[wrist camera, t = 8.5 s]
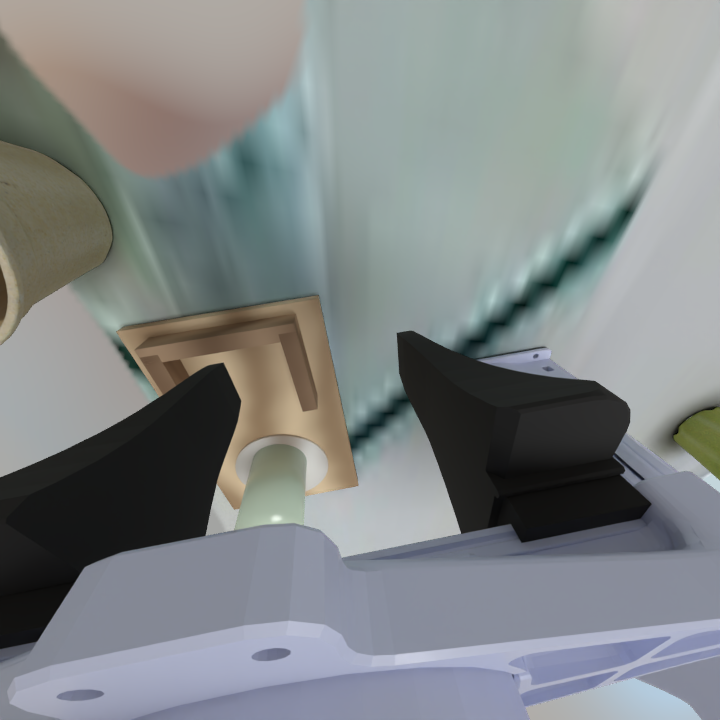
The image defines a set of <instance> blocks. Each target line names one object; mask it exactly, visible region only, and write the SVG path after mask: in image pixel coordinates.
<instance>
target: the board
mask: <svg viewBox="0 0 720 720" xmlns="http://www.w3.org/2000/svg"><path fill="white" fill-rule="evenodd" d="M116 332H117V334H118V335H119V337H120V338H121V340H122V341H123V343H124V344H125V346H126V347H127V349H128V350H129V352H130V353H131V355H132V356H133V358H134V359H135V361H136V362H137V364H138V365H139V367H140V368H141V370H142V371H143V373H144V374H145V376H146V377H147V379H148V380H149V382H150V383H151V385H152V387H153V388H154V390H155V391H156V393H157V394H158V396H159V397H160V396H162V395H163V394H165V393H166V392H168V391H169V390H171V389H172V388H174V387H175V386H176V385H178V384H179V383H181V382H182V381H184V380H185V379H187V378H188V377H190V376H191V375H193V374H194V373H196V372H197V371H199V370H200V369H202V368H204V367H206V366H208V365H212V364H217V363H223V362H224V364H225V366H226V369H227V371H228V373H229V375H230V377H231V379H232V382H233V384H234V386H235V388H236V390H237V392H238V394H239V397H240V399H241V407H240V413H239V418H238V423H237V426H236V429H235V431H234V434H233V437H232V440H231V443H230V446H229V448H228V451H227V454H226V457H225V459H224V462H223V465H222V468H221V471H220V474H219V477H218V480H217V484H218V486H219V487H220V489H221V490H222V492H223V493H224V495H225V497H226V498H227V500H228V501H229V503H230V504H231V506H232V507H233V509H234V510H235V509H240V506H241V502H242V498H243V494H244V490H245V487H246V483H247V479H248V475H249V471H250V467H251V464H252V460H253V457H254V455H255V454H256V453H257V451H259V450H260V449H262V448H264V447H266V446H269V445H274V444H285V445H290V446H293V447H296V448H298V449H299V450H301V451H302V452H303V453H304V455H305V456H306V459H307V470H306V489H305V496H308V495H313V494H318V493H324V492H329V491H334V490H339V489H345V488H350V487H355V486H358V479H357V474H356V469H355V465H354V460H353V455H352V450H351V446H350V441H349V436H348V432H347V427H346V422H345V418H344V413H343V408H342V403H341V399H340V394H339V389H338V385H337V380H336V375H335V370H334V366H333V361H332V356H331V352H330V347H329V342H328V337H327V333H326V328H325V323H324V319H323V314H322V309H321V304H320V300H319V295H316V296H310V297H304V298H298V299H292V300H286V301H280V302H274V303H267V304H261V305H255V306H249V307H243V308H237V309H231V310H224V311H218V312H212V313H206V314H200V315H194V316H188V317H181V318H175V319H169V320H163V321H157V322H151V323H145V324H138V325H132V326H126V327H123V328H121V329H119V330H118V331H116Z"/></svg>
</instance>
